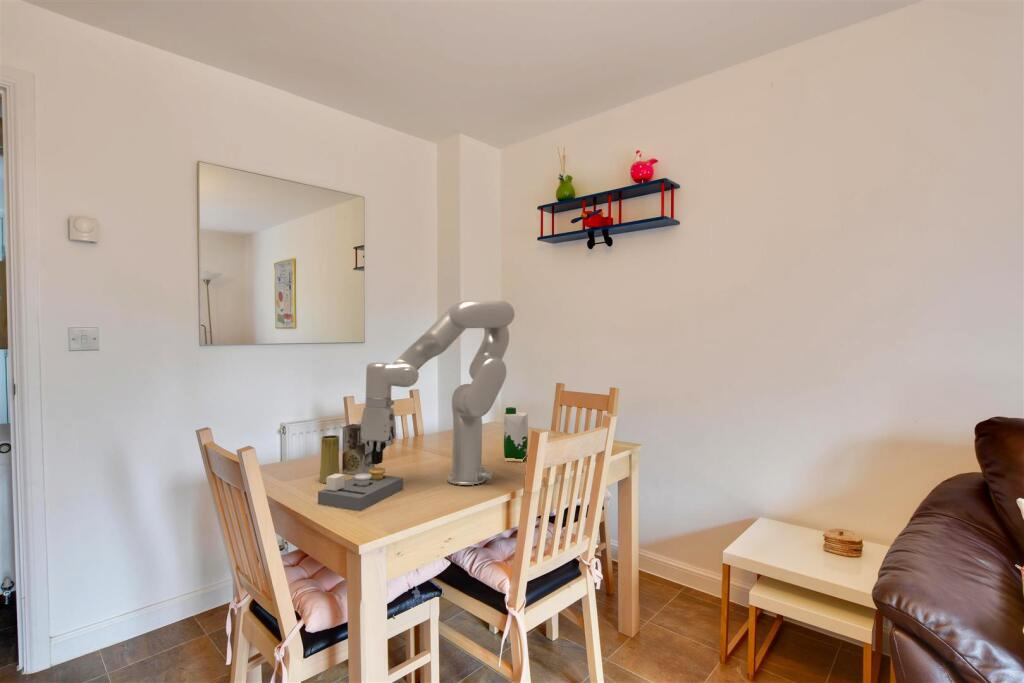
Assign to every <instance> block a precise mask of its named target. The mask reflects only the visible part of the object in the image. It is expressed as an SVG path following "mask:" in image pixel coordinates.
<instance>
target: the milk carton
mask: <svg viewBox="0 0 1024 683" xmlns="http://www.w3.org/2000/svg"><path fill="white" fill-rule="evenodd" d="M503 417H504V419H503V420H504V421H503V428H504V429H503V454H504V455H503V457H505V458H515V459H523V458H524V457H525V456H526V457H527V452H528V445H529V444H528V443H529V442H528V438H529V433H528V432H529V418H528V417H529V416H528V412H521V411H517V407H512V406H510V407H506V408H505V413H504V416H503Z"/></svg>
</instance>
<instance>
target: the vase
mask: <svg viewBox="0 0 1024 683" xmlns="http://www.w3.org/2000/svg"><path fill="white" fill-rule="evenodd" d="M320 448H321V452H320V468H319V470H320V472H319V483H320V482H321V484H325V483H326V477H328V476H331V475H333V474H340V462H339V460H340V458H339V457H340V454H339V452H340V436H339V435H335V434H334V435H333V434H330V435H329V434H328V435H323V436H322V437H321V446H320Z"/></svg>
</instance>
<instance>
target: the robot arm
mask: <svg viewBox="0 0 1024 683" xmlns="http://www.w3.org/2000/svg"><path fill="white" fill-rule="evenodd" d="M514 319H515V309H514V307H513V306H512V304H510V303H509V302H507V301H506V300H485V301H484V300H483V301H479V300H477V301H470V300H469V301H468V300H465V301H460V302H456V303H454V304H452V305H451V306H450V307H449V308H448V309H447V310H446V311H445V312H444V313H443V314H442V315H441V316H440V317H439V318H438V319H437V320H435V322H434V324H432V325H431V326H430V327H429V328H428V330H426V331H425V332H424V333H423V334H422V335H421V336H420V337H418V339H417V340H416V341H415V342H414V343H412V344H410V346H409V347H408V348H407V349H405V351H403V353H401V355H400V356H399V357H397V359H396V360H395V361H394V362H393V363H392V364H390V363H388V362H370V363H368V364H367V365H366V368H365V369H366V370H365V371H366V373H365V375H366V377H365V407H363V410H362V414H361V415H362V416H361V421H360V424H361V438H362V442H363V443H365V444H367V445H368V446H369V447H370V450H371V451H372V453H371V460H372V464H374V465H380V464H382V463H383V459H384V450H385V449H386V447H389V446H393V445H394V440H395V439H396V437H397V425H396V414H395V409H394V407H392V406H393V405H395V401H394V400H392V387H399V388H409V387H412V386H413V385H415V384H416V383H417V382H418V380H419V377H420V376H419V370H420V369H421V368H422V367H423V366H424V365H425V364H426V363H427V362H429V361H430V360H432V359H434V358H435V357H437V356H439V355H441V354H443V353H444V352H445V351H447V350H448V349H449V347H451V345H452V344H453V343H454V342H456V340H457V339H458V338H459V336H461V335H462V334H463V333H464V332H465V331H466V330H467V329H484V334H483V335H484V336H483V339H482V341H481V344H480V346H479V348H478V350H477V351H476V354H475V355H474V357H473V359H472V361H471V363H470V365H469V369H468V370H469V371H468V373H469V375H470V377H471V378H470V379H472V381H471V383H462V384H461V385H458V387H457V388H455V390H453V393H452V396H451V409H452V463H451V464H452V465H451V467H452V468H451V471H452V472H451V474H449V475H448V476H447V478H446V480H448V481H447V482H448V483H449V482H450V483H449V484H451V483H453V484H452V485H454V484H459V485H458V486H460V485H472V486H475V485H474V484H478V485H480V484H479V483H482V482H484V481H485V480H487V479H488V480H492V479H493V471H491V470H490V471H489V470H487V471H486V469H485V466H484V465H482V461H483V460H482V452H483V450H482V449H483V446H482V444H483V420H482V419H483V418H482V417H484V416H485V415H487V414H488V413H489V411H490V410H491V409H492V407H493V405H494V403H495V401H496V400H497V397H498V396H499V393H500V391H501V389H502V387H503V384H504V383H505V381H506V378H507V366H506V364H505V362H504V361H503V359H504V357H505V354H506V351H507V349H508V346H509V342H510V332H509V325H510V324H511V323H512V322H513V321H514ZM485 482H486V481H485ZM485 482H484V483H485ZM482 484H483V483H482Z"/></svg>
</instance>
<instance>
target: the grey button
mask: <svg viewBox="0 0 1024 683" xmlns="http://www.w3.org/2000/svg"><path fill="white" fill-rule="evenodd" d="M371 476H372V475H371V474H369V473H360V474H356V475H354V476H353V477H354V479H355V480H356V486H359V487H366V486H369V479H371Z"/></svg>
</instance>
